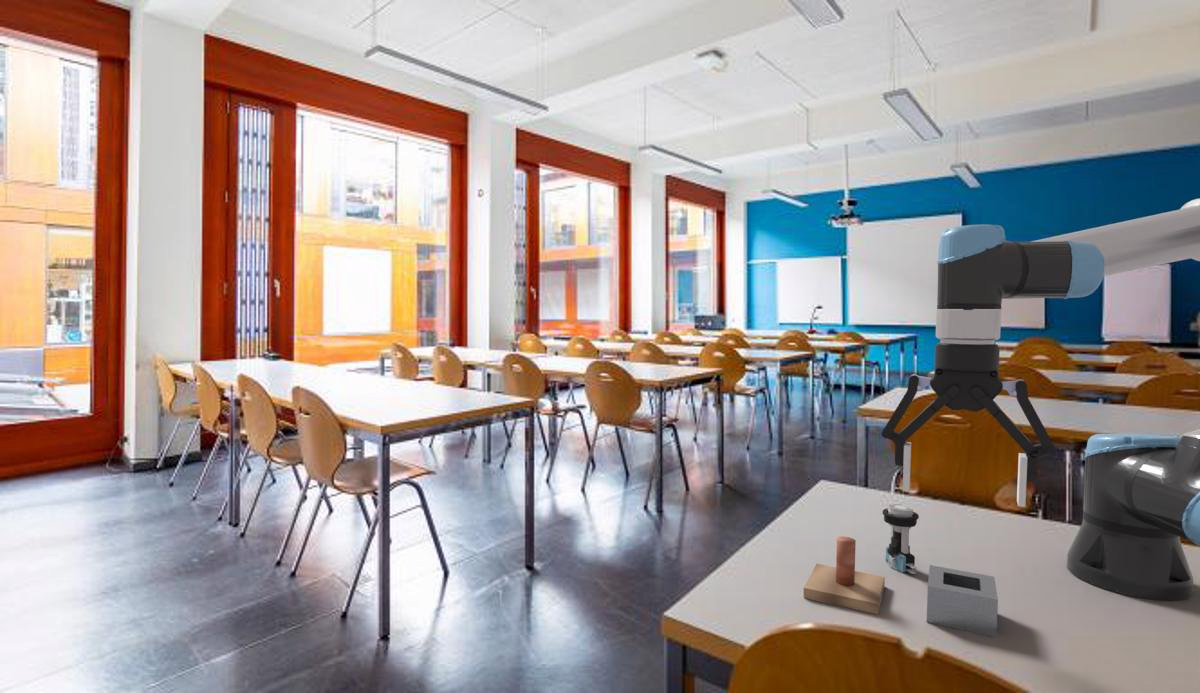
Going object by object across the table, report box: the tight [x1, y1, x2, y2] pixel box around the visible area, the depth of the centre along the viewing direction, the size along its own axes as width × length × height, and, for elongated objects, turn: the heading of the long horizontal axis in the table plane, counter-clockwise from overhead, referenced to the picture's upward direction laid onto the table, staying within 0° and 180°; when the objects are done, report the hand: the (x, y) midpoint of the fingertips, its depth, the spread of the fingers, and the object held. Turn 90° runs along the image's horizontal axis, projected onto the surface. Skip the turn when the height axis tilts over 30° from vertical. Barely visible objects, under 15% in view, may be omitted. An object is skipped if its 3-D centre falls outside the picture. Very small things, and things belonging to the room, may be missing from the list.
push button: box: [882, 503, 920, 575], centre depth 102 cm, size 7×5×10 cm
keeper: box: [803, 536, 886, 615], centre depth 93 cm, size 10×10×8 cm
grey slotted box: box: [926, 564, 999, 638], centre depth 86 cm, size 8×8×5 cm
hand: (961, 496), depth 85 cm, fingers open, 13 cm apart
